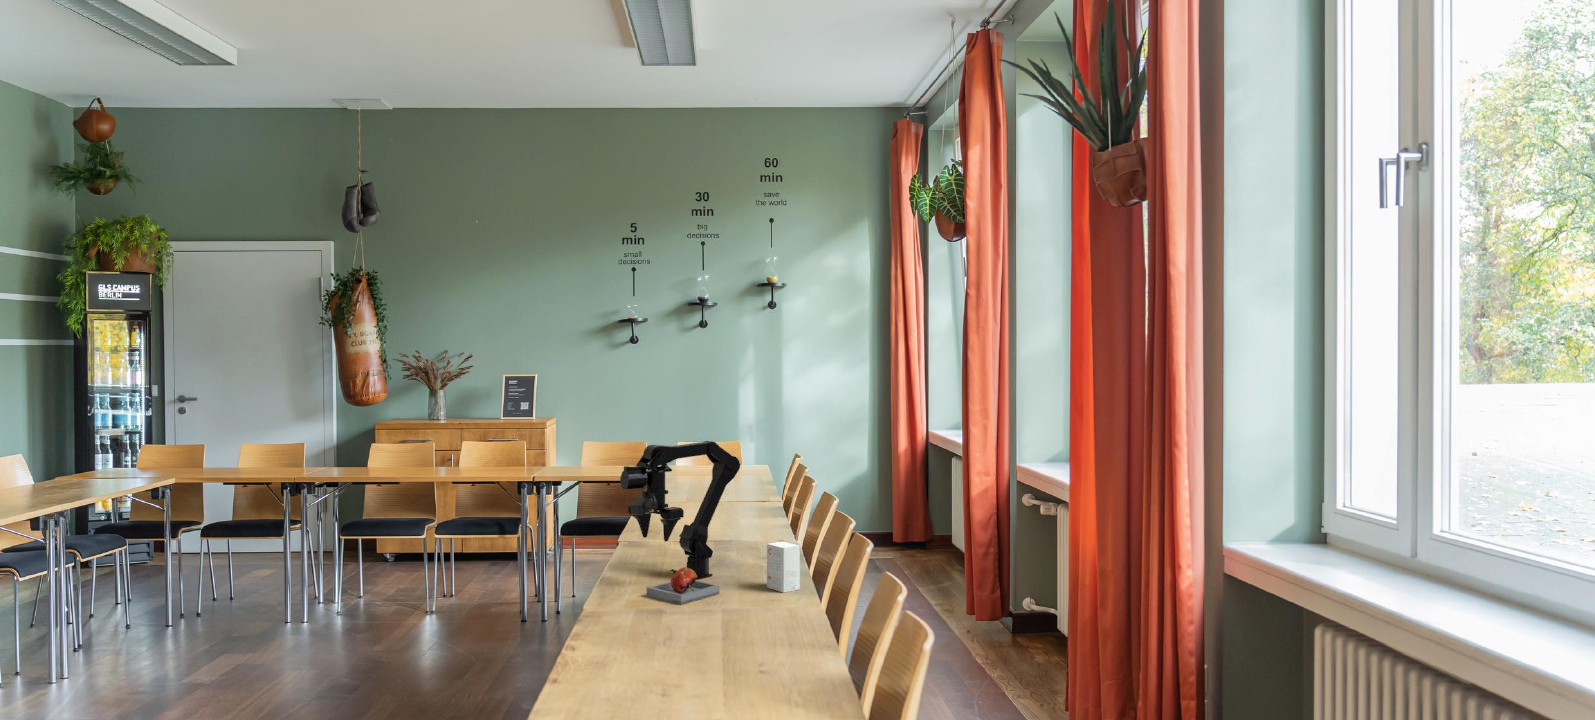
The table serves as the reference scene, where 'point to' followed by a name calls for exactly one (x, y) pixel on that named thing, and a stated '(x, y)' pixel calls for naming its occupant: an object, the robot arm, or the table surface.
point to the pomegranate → (682, 579)
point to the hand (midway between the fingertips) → (655, 539)
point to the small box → (783, 566)
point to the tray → (670, 595)
